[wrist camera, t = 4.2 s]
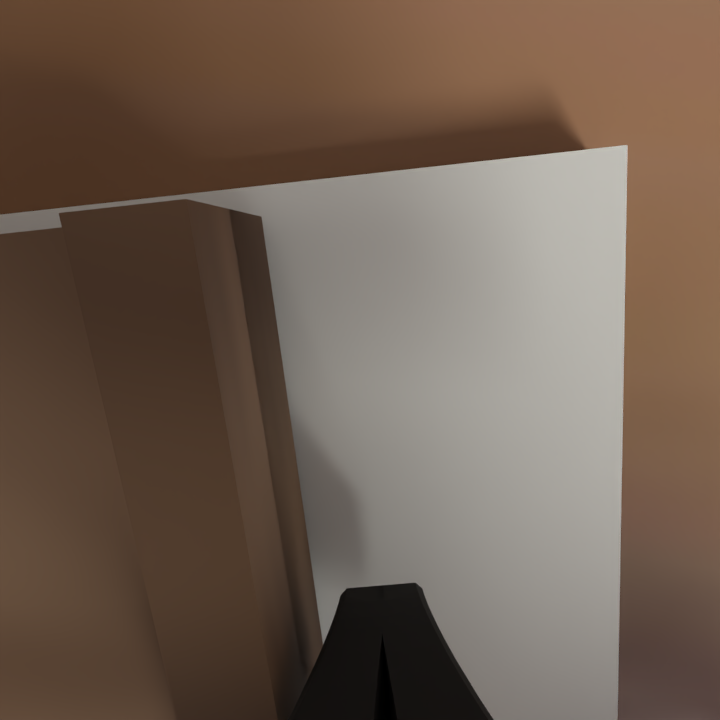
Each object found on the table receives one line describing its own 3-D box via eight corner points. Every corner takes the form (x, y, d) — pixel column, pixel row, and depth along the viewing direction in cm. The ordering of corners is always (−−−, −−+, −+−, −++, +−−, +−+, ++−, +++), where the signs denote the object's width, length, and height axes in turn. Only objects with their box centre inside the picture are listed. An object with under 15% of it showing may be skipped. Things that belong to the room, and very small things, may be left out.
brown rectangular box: (354, 864, 11) (350, 1136, 8) (-37, 891, 12) (-206, 1164, 8) (260, 216, 8) (186, 198, 5) (-279, 275, 8) (-728, 299, 5)
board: (591, 790, 13) (744, 1158, 8) (-102, 841, 13) (-392, 1215, 8) (593, 157, 9) (877, 54, 4) (-345, 260, 10) (-1109, 282, 5)
